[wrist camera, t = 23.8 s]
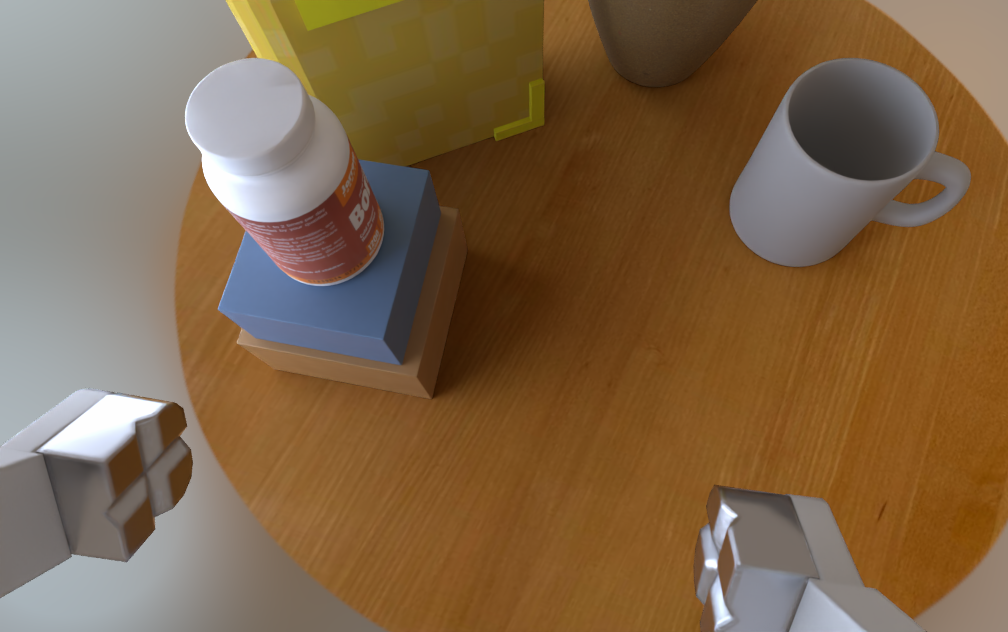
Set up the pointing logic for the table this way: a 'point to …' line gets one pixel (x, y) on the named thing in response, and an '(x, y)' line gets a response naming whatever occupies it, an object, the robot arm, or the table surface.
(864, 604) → the robot arm
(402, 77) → the book
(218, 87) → the pill bottle
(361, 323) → the box stack
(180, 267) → the table surface
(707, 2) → the plant pot
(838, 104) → the mug
